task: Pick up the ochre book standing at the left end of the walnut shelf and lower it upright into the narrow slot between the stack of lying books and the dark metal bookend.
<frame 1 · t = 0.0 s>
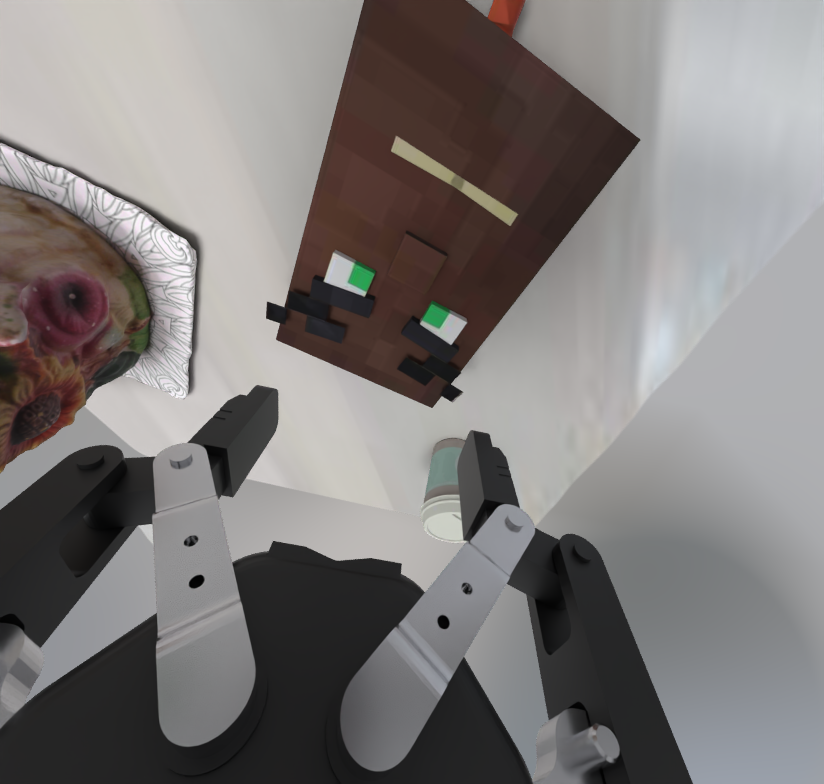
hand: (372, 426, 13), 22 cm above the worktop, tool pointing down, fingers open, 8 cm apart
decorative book: (422, 237, 30), on the worktop
cookie jar: (83, 280, 36), on the worktop
coffee cup: (453, 450, 48), on the worktop
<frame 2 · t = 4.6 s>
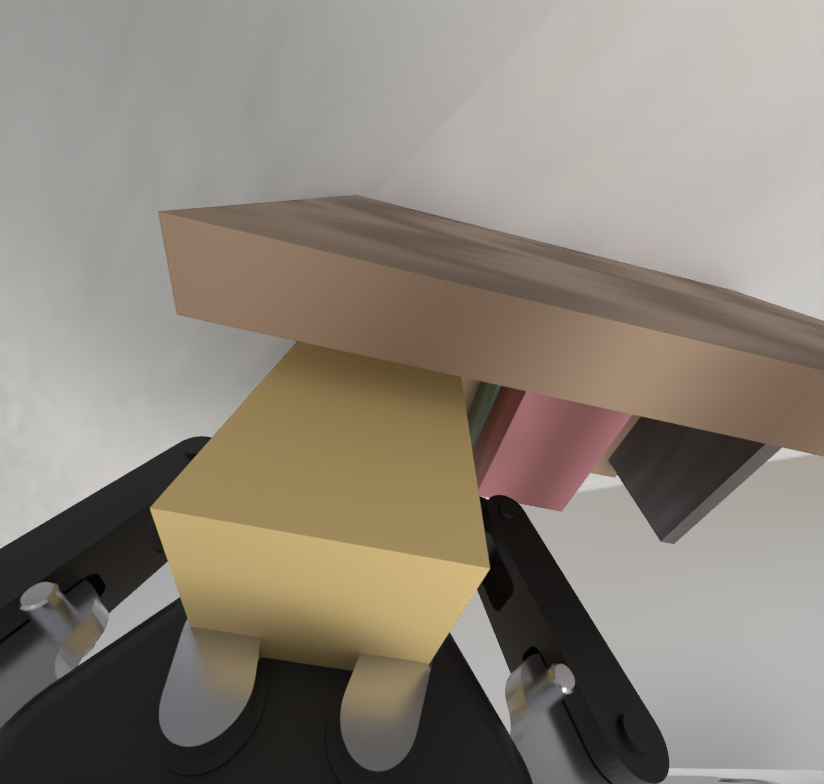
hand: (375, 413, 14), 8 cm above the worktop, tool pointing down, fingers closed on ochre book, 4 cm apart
ochre book: (392, 348, 20), point 2 cm above the worktop, touching gripper, shelf
shelf: (506, 357, 21), on the worktop
when the fingers open (9 cm above the worktop, at t = 10.2 s): ochre book drops 1 cm, resting on shelf.
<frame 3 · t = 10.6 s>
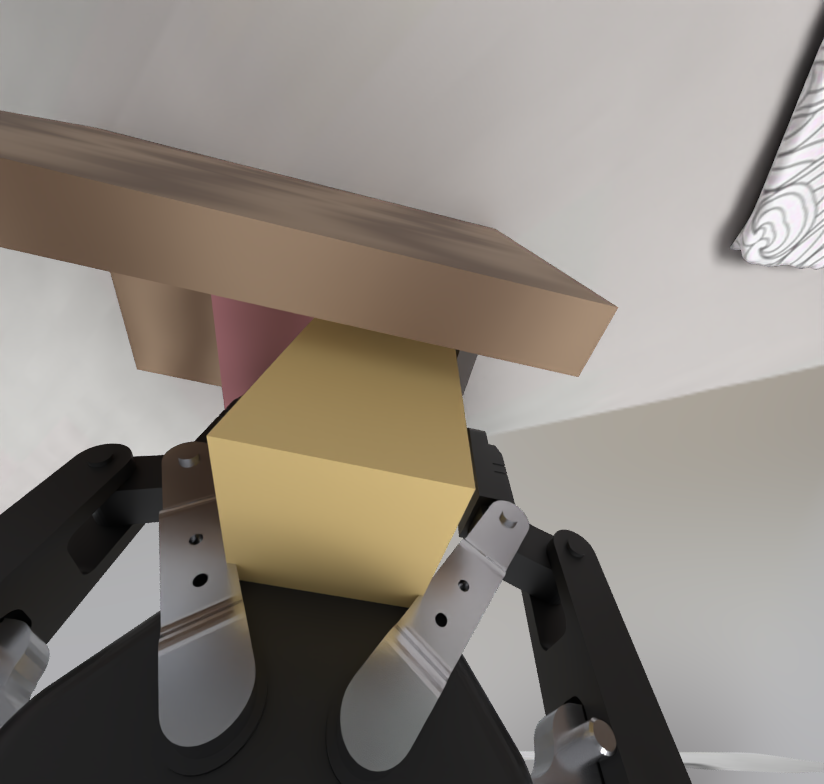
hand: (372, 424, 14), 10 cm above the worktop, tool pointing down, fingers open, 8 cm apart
ochre book: (392, 340, 21), point 2 cm above the worktop, touching shelf
shelf: (300, 303, 22), on the worktop
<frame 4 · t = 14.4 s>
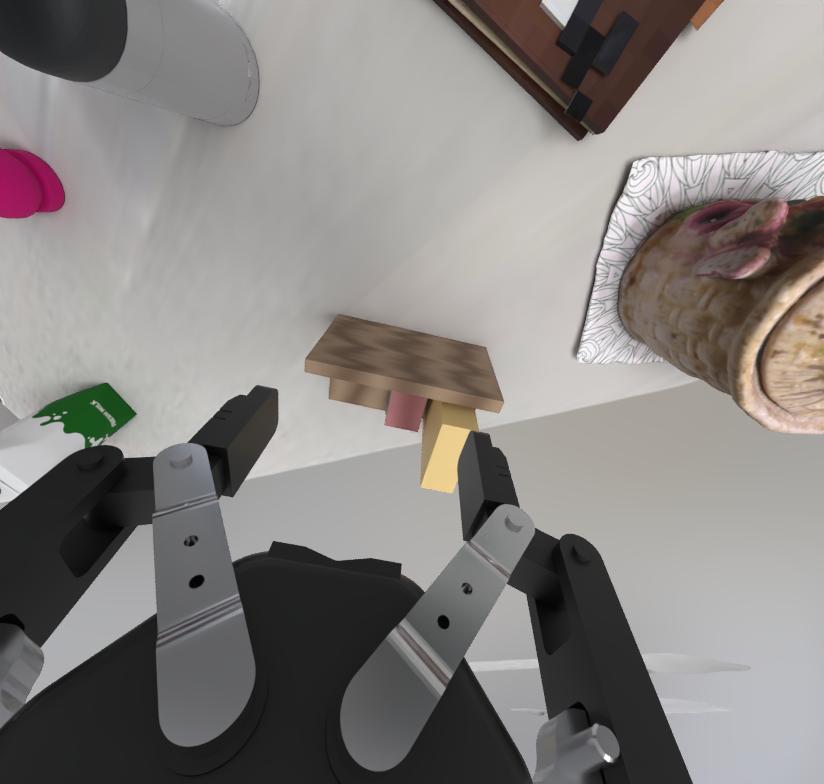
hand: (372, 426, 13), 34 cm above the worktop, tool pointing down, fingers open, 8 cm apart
milk carton: (108, 402, 58), on the worktop
cookie jar: (688, 272, 41), on the worktop
pepper mill: (38, 182, 40), on the worktop
ochre book: (443, 388, 50), point 1 cm above the worktop, touching shelf
shelf: (403, 372, 51), on the worktop
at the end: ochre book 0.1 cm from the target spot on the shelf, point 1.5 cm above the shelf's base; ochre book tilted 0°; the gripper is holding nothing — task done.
